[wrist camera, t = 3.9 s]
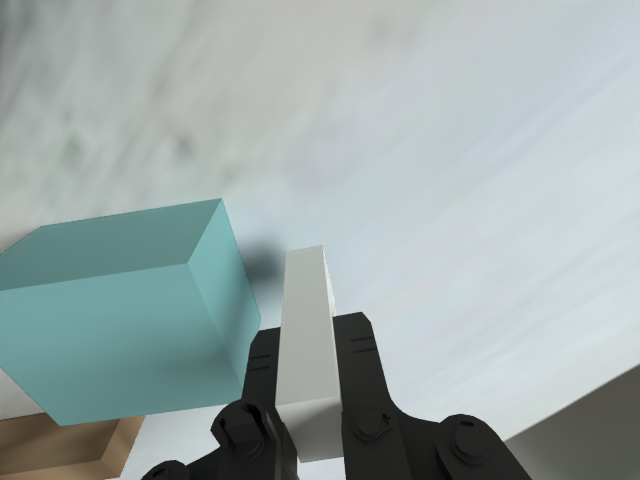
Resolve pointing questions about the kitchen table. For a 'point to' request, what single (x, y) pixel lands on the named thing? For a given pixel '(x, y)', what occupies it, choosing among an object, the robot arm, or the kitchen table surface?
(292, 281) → the robot arm
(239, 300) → the teal block
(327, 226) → the kitchen table surface
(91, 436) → the wooden guide rails
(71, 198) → the kitchen table surface
